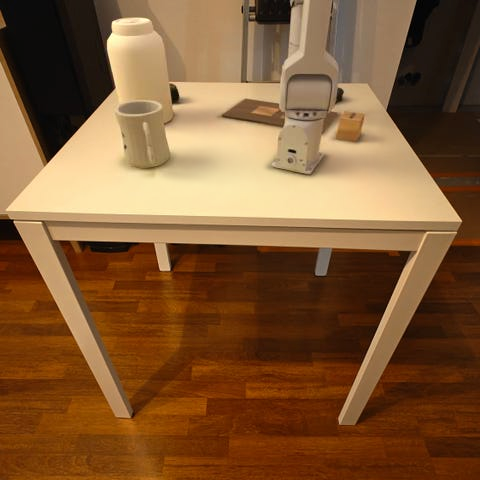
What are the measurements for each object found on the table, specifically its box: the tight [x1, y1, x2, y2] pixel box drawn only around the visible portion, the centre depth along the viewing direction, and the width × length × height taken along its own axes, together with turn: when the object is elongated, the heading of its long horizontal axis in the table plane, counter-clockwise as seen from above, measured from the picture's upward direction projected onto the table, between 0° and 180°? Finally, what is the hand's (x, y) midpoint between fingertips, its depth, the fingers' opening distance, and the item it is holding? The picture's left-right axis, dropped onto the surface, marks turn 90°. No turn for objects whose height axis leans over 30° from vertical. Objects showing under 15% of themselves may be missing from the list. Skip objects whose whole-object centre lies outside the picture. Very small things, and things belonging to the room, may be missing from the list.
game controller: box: [336, 86, 345, 101], centre depth 100 cm, size 10×5×6 cm
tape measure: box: [169, 82, 181, 102], centre depth 98 cm, size 7×7×4 cm
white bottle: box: [106, 17, 174, 124], centre depth 83 cm, size 12×12×20 cm
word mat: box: [221, 98, 339, 133], centre depth 91 cm, size 14×26×1 cm, turn 64°
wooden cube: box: [335, 110, 366, 143], centre depth 80 cm, size 4×4×5 cm
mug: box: [114, 100, 171, 169], centre depth 69 cm, size 12×9×10 cm
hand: (295, 109), depth 88 cm, fingers closed on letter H, 4 cm apart
